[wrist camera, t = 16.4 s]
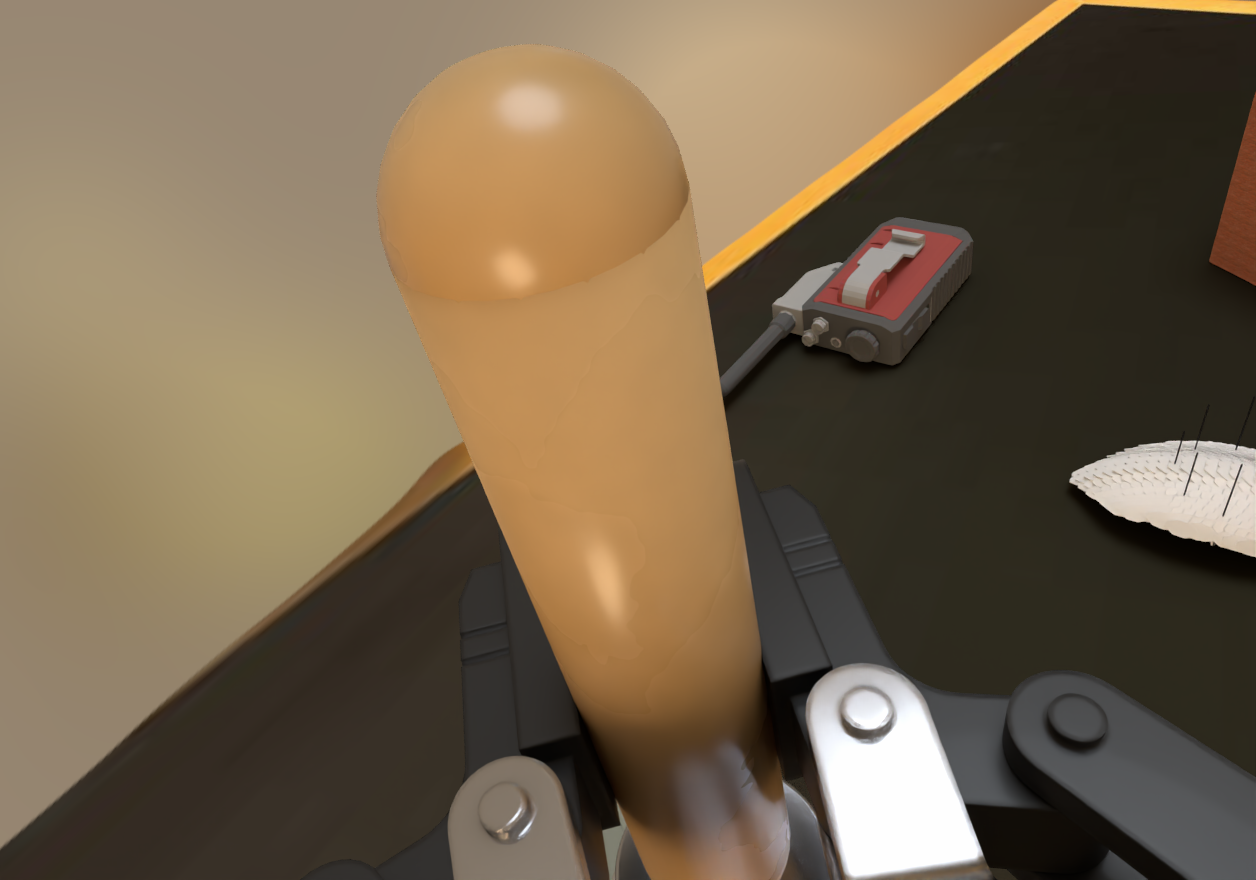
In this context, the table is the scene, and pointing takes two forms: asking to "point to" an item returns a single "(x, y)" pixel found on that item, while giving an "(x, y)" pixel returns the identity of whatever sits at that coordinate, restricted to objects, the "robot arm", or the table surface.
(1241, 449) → the pincushion
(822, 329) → the walkie-talkie
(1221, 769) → the robot arm
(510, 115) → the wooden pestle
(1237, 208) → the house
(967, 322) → the table surface
